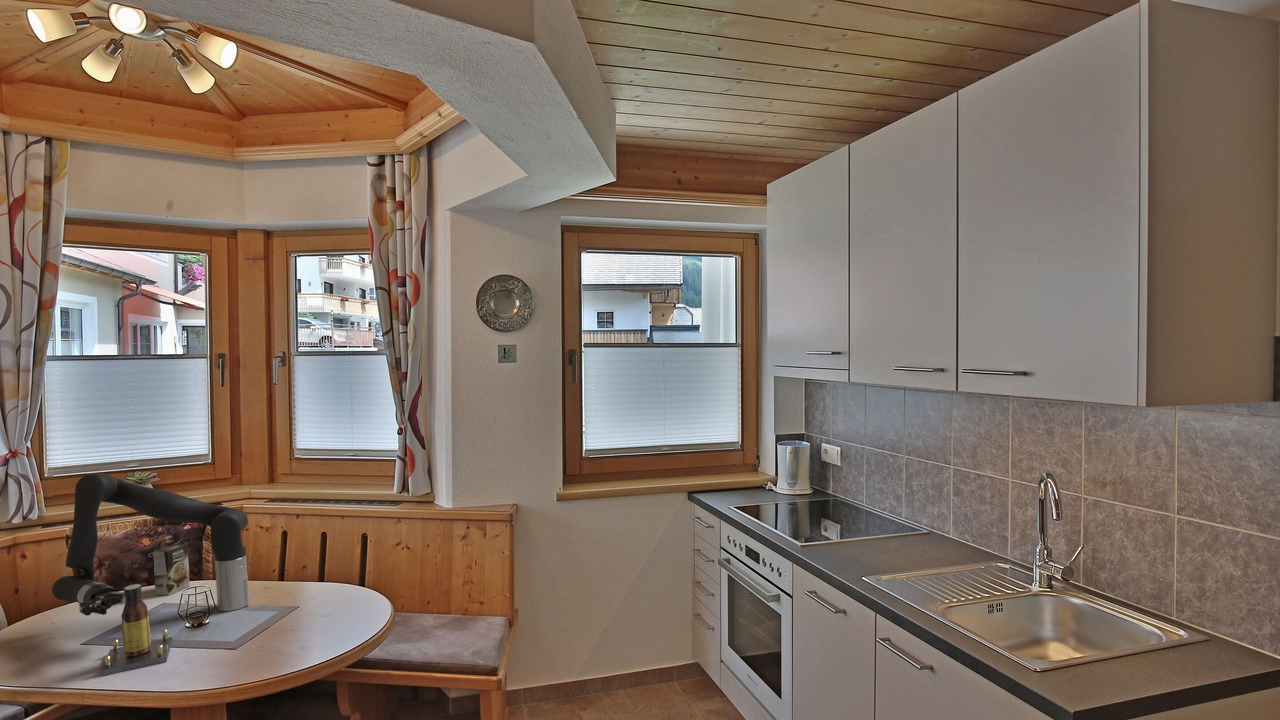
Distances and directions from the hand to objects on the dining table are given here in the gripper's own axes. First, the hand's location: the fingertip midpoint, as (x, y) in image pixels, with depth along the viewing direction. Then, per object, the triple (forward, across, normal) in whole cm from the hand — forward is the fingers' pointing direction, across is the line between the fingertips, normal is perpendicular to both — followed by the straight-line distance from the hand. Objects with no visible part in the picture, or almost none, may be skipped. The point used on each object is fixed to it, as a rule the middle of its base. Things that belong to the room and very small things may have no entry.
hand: (122, 605), depth 200 cm
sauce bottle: (+8, 0, +13) cm, 15 cm away
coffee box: (-41, +32, +14) cm, 54 cm away
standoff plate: (+8, 0, +14) cm, 16 cm away
